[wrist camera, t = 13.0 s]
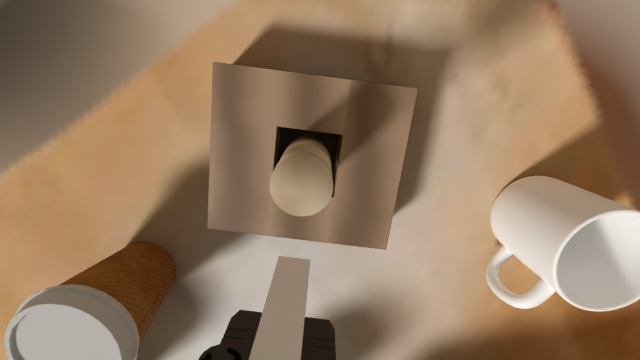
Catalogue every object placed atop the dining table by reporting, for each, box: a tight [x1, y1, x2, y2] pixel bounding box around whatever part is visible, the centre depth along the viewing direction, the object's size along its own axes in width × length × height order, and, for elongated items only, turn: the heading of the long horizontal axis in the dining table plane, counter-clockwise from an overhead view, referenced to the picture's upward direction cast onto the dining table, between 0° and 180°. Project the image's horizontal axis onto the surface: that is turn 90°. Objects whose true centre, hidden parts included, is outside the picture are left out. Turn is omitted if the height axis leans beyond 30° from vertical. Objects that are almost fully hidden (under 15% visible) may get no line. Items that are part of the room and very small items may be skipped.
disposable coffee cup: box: [4, 242, 176, 360], centre depth 30 cm, size 10×10×12 cm
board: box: [207, 62, 418, 250], centre depth 30 cm, size 16×14×5 cm
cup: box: [486, 176, 640, 311], centre depth 29 cm, size 8×12×10 cm
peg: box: [270, 134, 333, 216], centre depth 26 cm, size 4×4×12 cm
